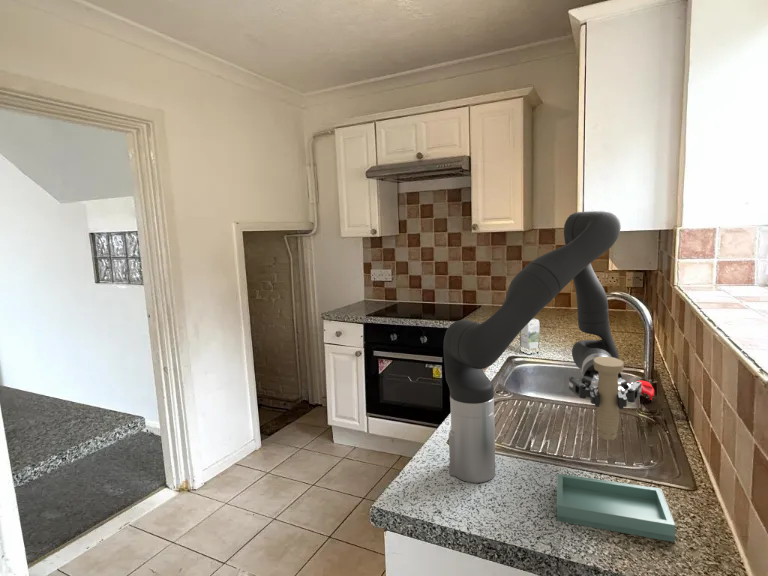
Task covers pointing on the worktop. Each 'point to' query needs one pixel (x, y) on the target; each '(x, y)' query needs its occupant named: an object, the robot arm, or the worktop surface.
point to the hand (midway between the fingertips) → (609, 402)
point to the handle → (608, 396)
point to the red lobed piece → (647, 389)
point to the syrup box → (530, 335)
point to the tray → (614, 507)
